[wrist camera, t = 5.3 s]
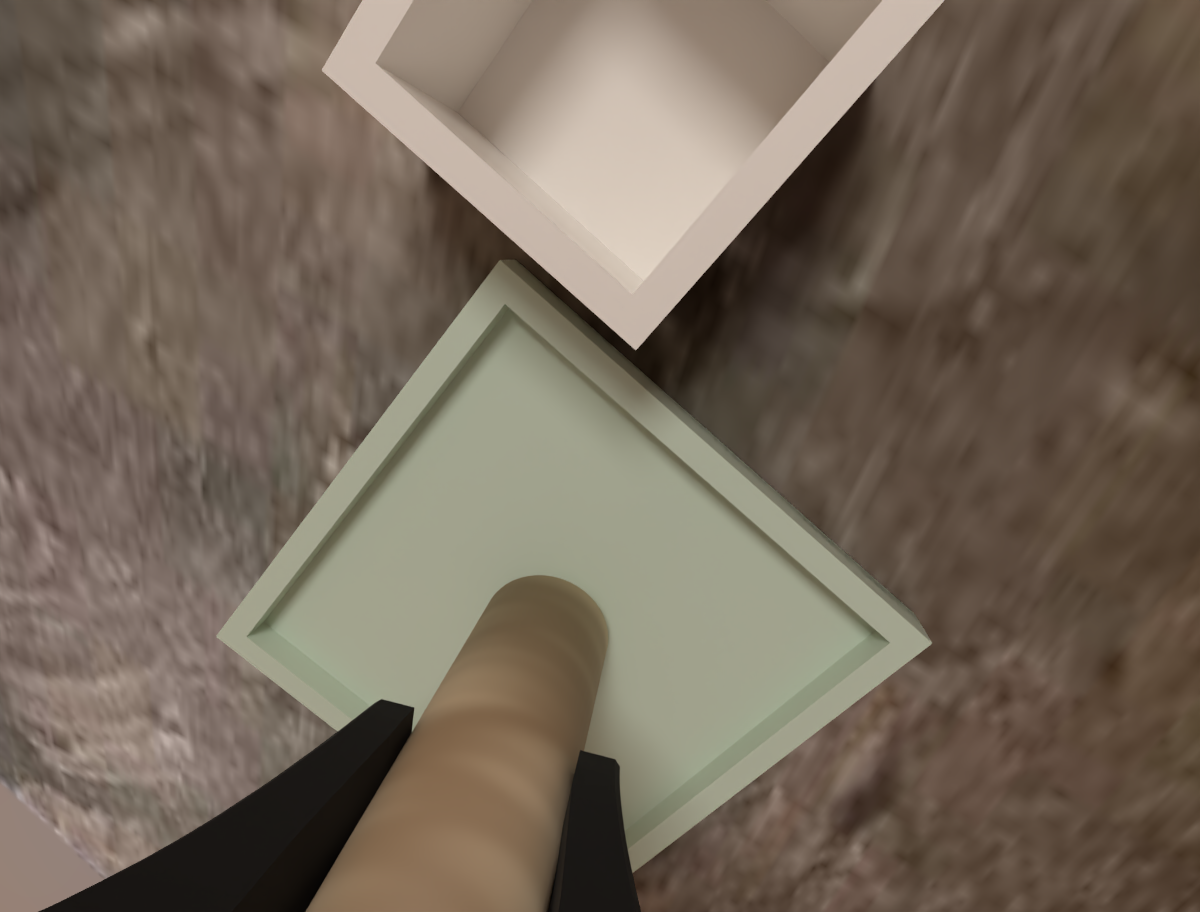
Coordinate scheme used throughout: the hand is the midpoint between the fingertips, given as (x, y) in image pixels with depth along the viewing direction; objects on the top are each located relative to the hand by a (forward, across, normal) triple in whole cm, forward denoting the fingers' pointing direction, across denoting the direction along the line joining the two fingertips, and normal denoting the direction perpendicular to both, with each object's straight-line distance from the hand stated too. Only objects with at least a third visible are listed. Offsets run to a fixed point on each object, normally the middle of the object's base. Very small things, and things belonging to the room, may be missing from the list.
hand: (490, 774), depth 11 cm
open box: (+5, 0, -12) cm, 13 cm away
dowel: (+4, 0, 0) cm, 4 cm away
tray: (+5, 0, 0) cm, 5 cm away
